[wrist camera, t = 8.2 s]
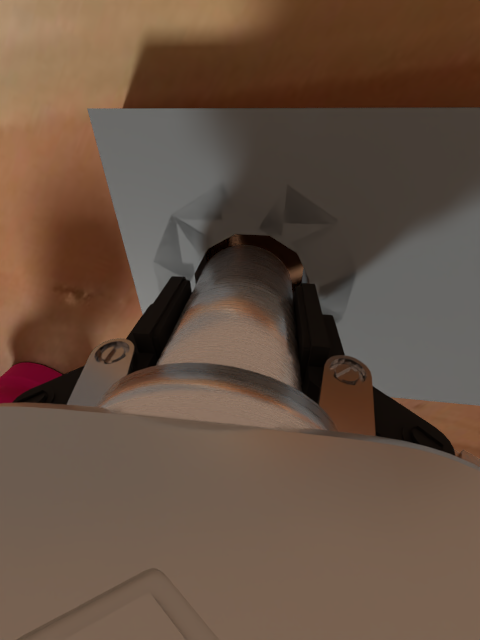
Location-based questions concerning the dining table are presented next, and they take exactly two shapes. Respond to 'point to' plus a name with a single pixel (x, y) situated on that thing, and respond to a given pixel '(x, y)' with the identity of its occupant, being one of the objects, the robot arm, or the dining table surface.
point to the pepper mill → (23, 379)
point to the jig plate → (320, 220)
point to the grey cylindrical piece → (228, 353)
